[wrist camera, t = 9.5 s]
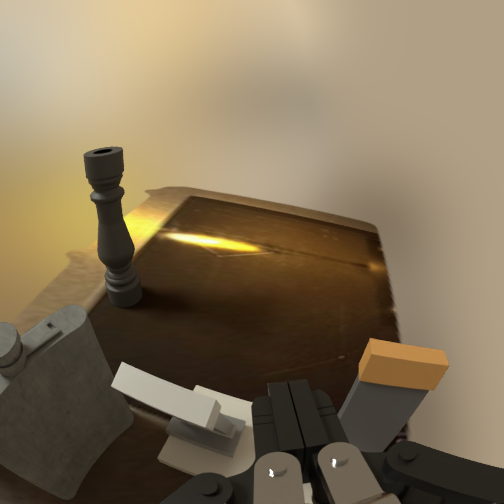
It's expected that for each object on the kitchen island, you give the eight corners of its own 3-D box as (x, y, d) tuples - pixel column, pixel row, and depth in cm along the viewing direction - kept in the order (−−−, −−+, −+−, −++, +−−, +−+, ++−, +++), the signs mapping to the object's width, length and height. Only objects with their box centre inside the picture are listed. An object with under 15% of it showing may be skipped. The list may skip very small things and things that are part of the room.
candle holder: (136, 310, 45) (111, 156, 32) (103, 304, 45) (73, 158, 32) (147, 286, 51) (131, 145, 37) (116, 283, 51) (95, 147, 37)
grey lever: (232, 439, 26) (205, 427, 14) (176, 419, 27) (110, 386, 15) (237, 424, 27) (215, 399, 15) (181, 405, 29) (121, 361, 16)
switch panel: (358, 510, 20) (368, 506, 19) (157, 460, 25) (152, 453, 24) (369, 431, 29) (378, 422, 28) (195, 390, 34) (193, 378, 33)
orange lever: (370, 468, 22) (449, 365, 16) (312, 461, 24) (371, 353, 18) (371, 455, 24) (444, 350, 18) (315, 448, 25) (370, 338, 19)
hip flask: (67, 505, 17) (-59, 423, 7) (44, 482, 18) (-74, 386, 8) (139, 415, 30) (85, 289, 19) (114, 399, 31) (57, 272, 20)
